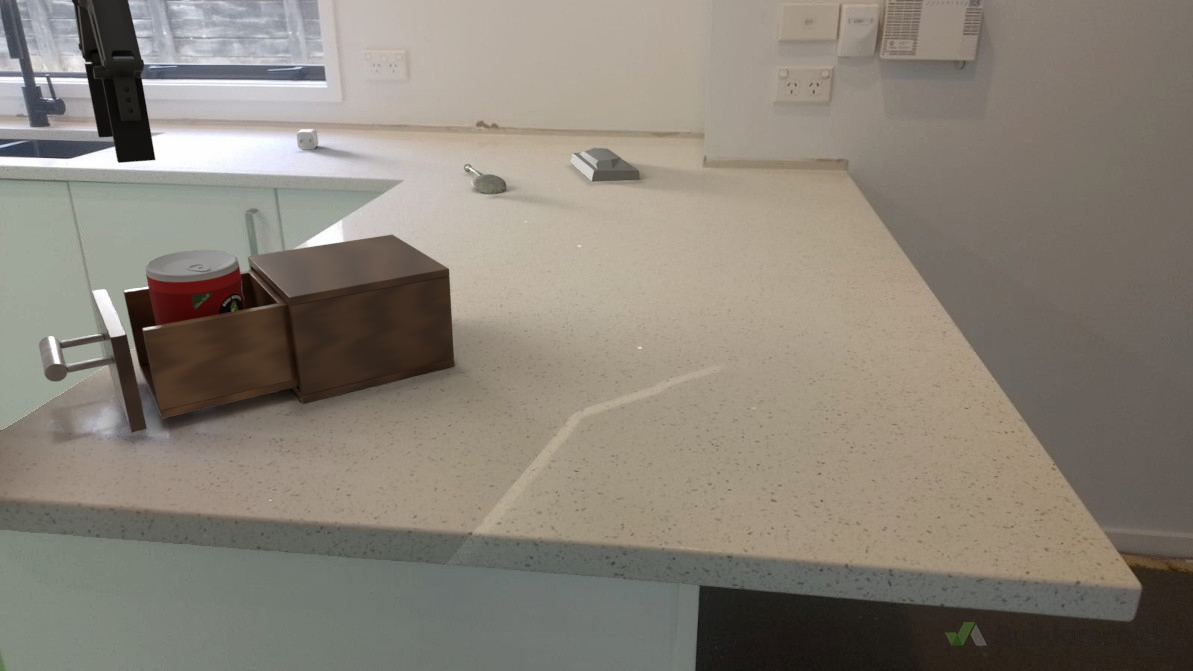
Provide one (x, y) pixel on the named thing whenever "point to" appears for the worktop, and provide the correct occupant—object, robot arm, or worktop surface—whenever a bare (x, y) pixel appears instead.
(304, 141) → the usb wall charger
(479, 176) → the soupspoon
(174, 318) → the canned food
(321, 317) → the cabinet
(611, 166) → the grey flat stepped block
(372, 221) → the worktop surface
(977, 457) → the worktop surface
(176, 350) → the drawer
